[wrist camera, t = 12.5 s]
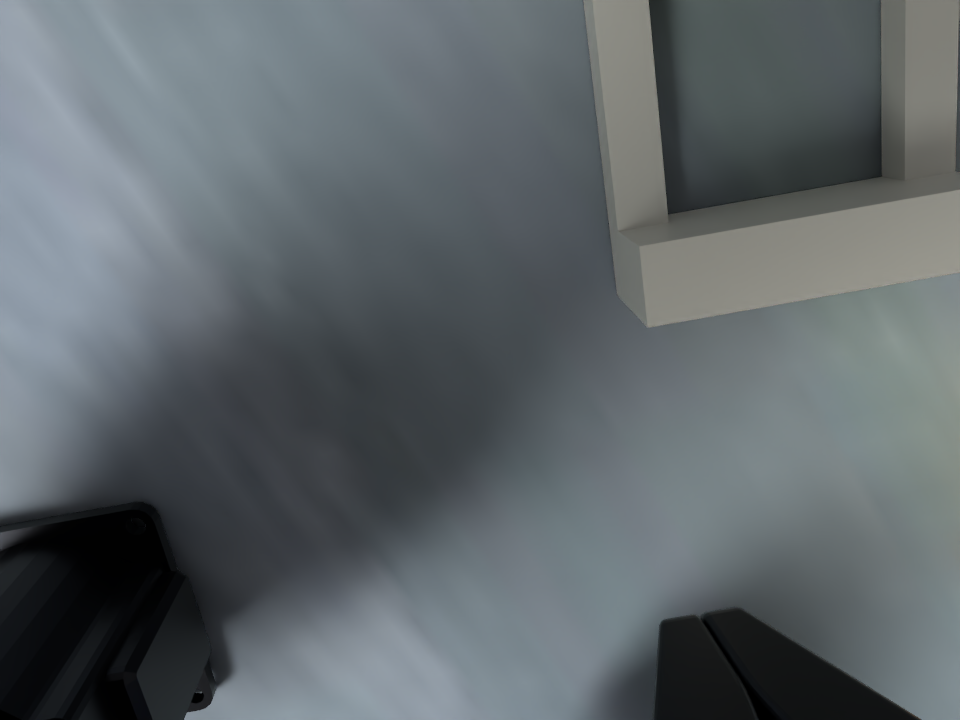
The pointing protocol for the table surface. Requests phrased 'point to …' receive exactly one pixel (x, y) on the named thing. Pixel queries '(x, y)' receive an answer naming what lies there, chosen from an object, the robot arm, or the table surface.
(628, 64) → the grey square frame
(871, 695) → the robot arm
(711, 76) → the table surface
